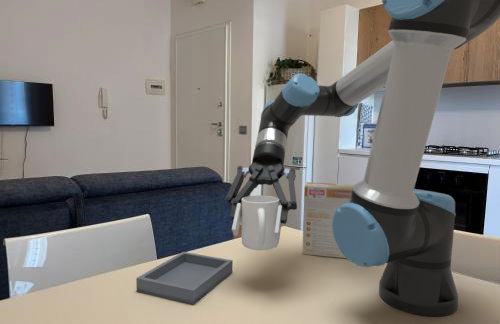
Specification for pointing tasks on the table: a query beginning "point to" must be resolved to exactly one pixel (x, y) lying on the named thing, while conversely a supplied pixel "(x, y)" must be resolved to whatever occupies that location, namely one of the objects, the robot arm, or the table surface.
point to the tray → (185, 277)
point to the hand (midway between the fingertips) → (255, 234)
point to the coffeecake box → (322, 217)
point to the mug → (259, 222)
